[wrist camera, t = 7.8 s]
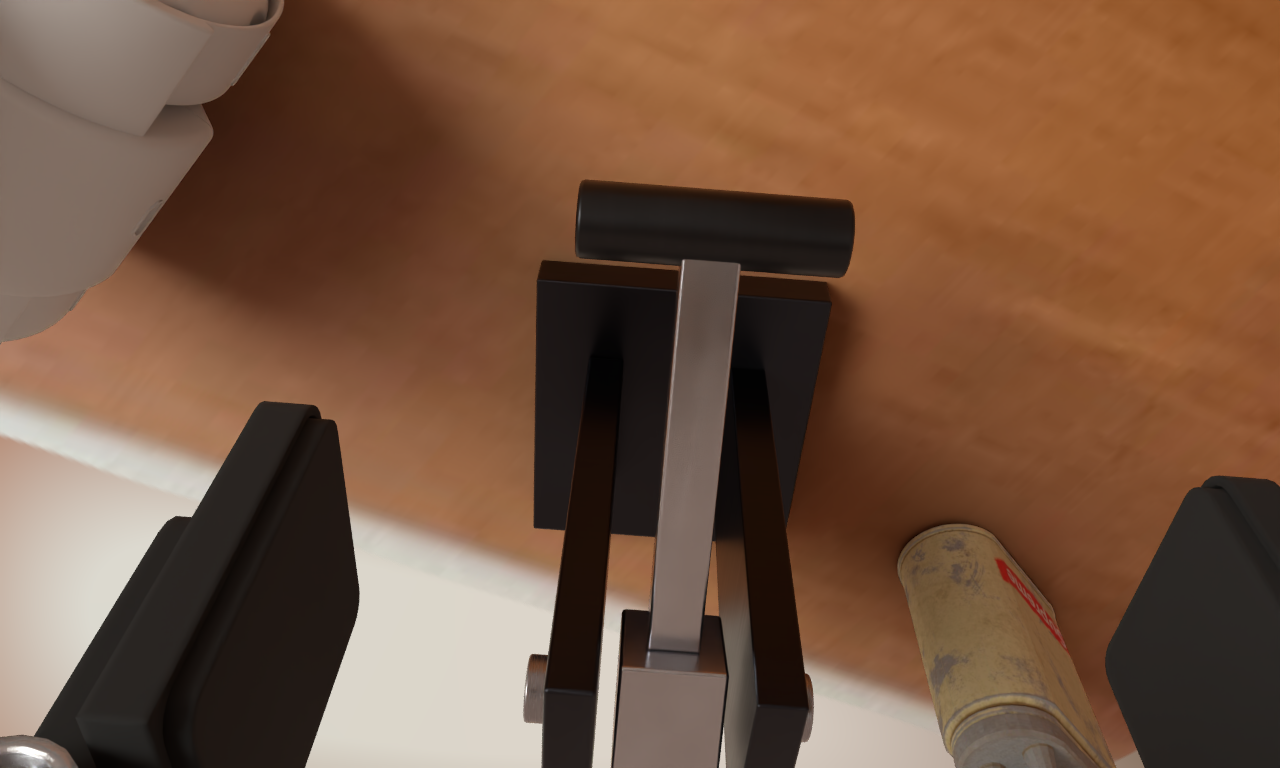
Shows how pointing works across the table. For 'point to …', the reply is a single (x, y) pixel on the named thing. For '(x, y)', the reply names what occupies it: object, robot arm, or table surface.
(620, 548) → the table surface
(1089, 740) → the lighter
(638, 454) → the black upright stand
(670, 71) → the table surface
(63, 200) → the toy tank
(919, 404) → the table surface
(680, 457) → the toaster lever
